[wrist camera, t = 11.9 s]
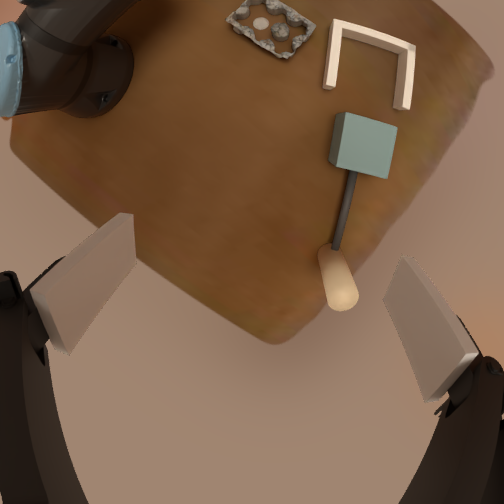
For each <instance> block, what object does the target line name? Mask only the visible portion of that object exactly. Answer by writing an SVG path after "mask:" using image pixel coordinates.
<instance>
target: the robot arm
mask: <svg viewBox="0 0 504 504" xmlns="http://www.w3.org/2000/svg"><path fill="white" fill-rule="evenodd" d="M138 1H139V0H17V2H19V3H22V4H24V5H27V7H26V8H25V10H24V11H23V12H22V14H21V15H20V17H19V18H18V19H17V21H16V22H12V21H11V22H8V23H4V24H2V25H0V117H2V116H6V117H11V116H15V115H20V114H26V113H33V112H39V111H47V110H56V109H59V110H61V111H63V112H65V113H68V114H70V115H72V116H74V117H79V118H90V117H97V116H100V115H102V114H104V113H106V112H107V111H109V110H110V109H112V108H113V107H114V106H115V105H116V104H117V103H118V102H119V100H120V99H121V98H122V96H123V95H124V93H125V92H126V90H127V88H128V86H129V83H130V81H131V77H132V73H133V65H134V61H133V54H132V51H131V49H130V47H129V45H128V44H127V43H126V42H125V41H124V40H123V39H121V38H119V37H117V36H114V35H111V34H103V33H104V32H105V31H106V30H107V29H108V28H109V27H110V26H111V25H112V24H113V23H114V22H115V21H116V20H117V19H118V18H119V17H120V16H121V15H123V14H124V13H125V12H126V11H127V10H128V9H129V8H130V7H132V6H133V5H134V4H135V3H136V2H138ZM136 264H137V261H136V250H135V237H134V221H133V214H128V213H119V214H117V215H116V216H115V217H113V218H112V219H111V220H109V221H108V222H107V223H106V224H104V225H103V226H102V227H100V228H99V229H98V230H97V231H96V232H94V233H93V234H92V235H90V236H89V237H88V238H87V239H85V240H84V241H83V242H82V243H81V244H79V245H78V246H77V247H76V248H75V249H73V250H72V251H71V252H70V253H69V254H68V255H67V256H64V257H62V258H60V259H58V260H56V261H55V262H54V263H53V264H51V265H50V266H49V267H48V269H46V270H45V271H44V272H43V273H42V274H40V275H39V276H38V277H37V278H36V279H35V280H34V281H33V282H32V283H31V284H30V285H29V286H28V287H27V288H26V289H25V290H24V291H23V292H22V289H21V286H20V284H19V281H18V278H17V275H16V273H15V272H13V271H4V272H1V273H0V492H1V496H2V501H3V504H89V503H88V501H87V499H86V497H85V495H84V492H83V490H82V488H81V485H80V483H79V480H78V478H77V475H76V472H75V470H74V467H73V464H72V461H71V458H70V456H69V452H68V449H67V446H66V443H65V439H64V436H63V432H62V428H61V424H60V421H59V417H58V412H57V407H56V403H55V397H54V393H53V387H52V380H51V374H50V367H49V359H48V350H47V348H46V345H45V343H46V342H47V341H48V339H50V341H51V343H52V345H53V347H54V349H55V350H58V351H60V352H62V353H64V354H67V355H70V354H71V352H72V350H73V349H74V348H75V346H76V345H77V343H78V342H79V340H80V339H81V337H82V336H83V334H84V333H85V332H86V330H87V329H88V327H89V326H90V324H91V323H92V322H93V320H94V319H95V317H96V316H97V315H98V313H99V312H100V310H101V309H102V308H103V306H104V305H105V304H106V302H107V301H108V300H109V298H110V297H111V296H112V294H113V293H114V292H115V290H116V289H117V288H118V287H119V285H120V284H121V283H122V281H123V280H124V279H125V278H126V276H127V275H128V274H129V273H130V271H131V270H132V269H133V267H134V266H135V265H136ZM383 301H384V303H385V305H386V308H387V310H388V312H389V314H390V316H391V319H392V321H393V323H394V325H395V327H396V330H397V332H398V334H399V337H400V339H401V341H402V344H403V346H404V348H405V351H406V353H407V356H408V358H409V361H410V364H411V366H412V369H413V371H414V374H415V377H416V379H417V382H418V385H419V388H420V391H421V393H422V396H423V399H424V402H425V403H426V402H433V401H438V400H439V399H440V398H441V397H442V396H443V395H444V394H445V393H446V392H447V391H448V394H449V396H450V397H449V398H448V399H447V400H446V401H445V402H444V403H443V404H442V406H440V407H439V408H438V409H437V410H436V412H435V413H434V414H435V415H436V414H438V413H439V412H440V411H442V412H441V415H440V416H439V417H440V418H439V421H438V424H437V426H436V429H435V431H434V434H433V437H432V439H431V441H430V444H429V446H428V448H427V451H426V453H425V455H424V457H423V459H422V461H421V464H420V466H419V468H418V470H417V472H416V474H415V475H414V477H413V479H412V481H411V483H410V485H409V487H408V489H407V490H406V492H405V494H404V495H403V497H402V499H401V500H400V502H399V504H504V419H503V420H502V414H503V413H504V371H503V368H502V367H501V365H500V364H499V362H498V361H497V360H495V359H494V358H492V357H490V356H485V357H483V355H482V353H481V351H480V350H479V348H478V346H477V345H476V343H475V341H474V340H473V338H472V336H471V335H469V332H468V330H467V328H465V325H464V324H463V322H462V321H461V319H460V318H459V317H458V316H457V315H456V314H455V313H454V311H453V310H452V308H451V307H450V305H449V304H448V303H447V301H446V300H445V298H444V297H443V296H442V294H441V293H440V291H439V290H438V289H437V287H436V286H435V285H434V283H433V282H432V280H431V279H430V278H429V276H428V275H427V274H426V272H425V271H424V270H423V269H422V267H421V266H420V265H419V263H418V262H417V261H416V260H415V258H414V257H410V256H405V255H401V258H400V260H399V263H398V265H397V268H396V270H395V273H394V275H393V278H392V280H391V282H390V285H389V287H388V289H387V292H386V294H385V296H384V298H383Z"/></svg>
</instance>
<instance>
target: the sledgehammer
mask: <svg viewBox="0 0 504 504" xmlns="http://www.w3.org/2000/svg"><path fill="white" fill-rule="evenodd" d="M397 128H398V127H395V126H392V125H389V124H386V123H382V122H379V121H376V120H373V119H369V118H366V117H362V116H359V115H355V114H351V113H347V112H344V113H339V114H336V118H335V124H334V130H333V136H332V142H331V148H330V153H329V158H328V161H329V162H331V163H332V164H333V165H335V166H336V167H340V168H344V169H349V170H350V171H349V176H348V180H347V185H346V189H345V194H344V198H343V202H342V207H341V211H340V215H339V219H338V223H337V227H336V231H335V235H334V238H333V242H332V243H328V244H325V245H323V246H322V247H321V248H320V249H319V250H318V254H317V257H318V261H319V265H320V270H321V274H322V278H323V283H324V287H325V292H326V296H327V301H328V304H329V306H330V307H331V308H332V309H334V310H337V311H345V310H348V309H350V308H352V307H353V306H354V305H355V304H356V303H357V301H358V298H359V293H358V291H357V288H356V286H355V283H354V280H353V278H352V275H351V273H350V270H349V268H348V266H347V263H346V261H345V258H344V256H343V254H342V251H341V249H340V243H341V239H342V236H343V232H344V228H345V224H346V221H347V217H348V213H349V209H350V205H351V201H352V196H353V192H354V188H355V183H356V179H357V174H358V172H361V173H365V174H369V175H373V176H377V177H381V178H384V179H387V177H388V173H389V168H390V164H391V159H392V154H393V149H394V144H395V139H396V133H397Z"/></svg>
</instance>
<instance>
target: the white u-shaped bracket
mask: <svg viewBox="0 0 504 504" xmlns="http://www.w3.org/2000/svg"><path fill="white" fill-rule="evenodd" d="M341 36H343V37H346V38H350V39H354V40H357V41H361V42H364V43H367V44H370V45H374V46H377V47H380V48H383V49H385V50H388V51H391V52H394V53H396V54H399V55H398V68H397V78H396V87H395V95H394V102H393V108H395V109H398V110H410V104H411V96H412V87H413V77H414V65H415V49H416V46H414V45H412V44H410V43H407V42H405V41H403V40H400V39H398V38H395V37H392V36H390V35H387V34H384V33H381V32H378V31H375V30H372V29H369V28H366V27H363V26H359V25H356V24H352V23H349V22H345V21H341V20H337V19H334V20H333V22H332V24H331V26H330V30H329V39H328V48H327V56H326V64H325V71H324V79H323V86H322V88H323V89H328V90H331V89H333V88H334V87H335V86H336V78H337V71H338V63H339V54H340V45H341Z"/></svg>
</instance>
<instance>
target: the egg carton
mask: <svg viewBox="0 0 504 504" xmlns="http://www.w3.org/2000/svg"><path fill="white" fill-rule="evenodd" d="M261 3H265V4H266V7H267V11H268V13H270V14H272V15H279V14H281V13H283V14H285V15H286V16H287V17H286V21H287V23H288V24H289V25H290V26H293V27H297V26H300V25H303V26H305V27H306V28H307V29H306V35H300V36H296V37H294V38H293V43H292V49H293V51H294V52H293V53H288V52H282V53H281V54H277V53H276V52H274V48H275V47H274V44H273V42H272V41H271V40H270V39H267V40H261V41H259V42H258V41H257V40H255V34H254V32H253V30H252V29H250V28H249V26H242V25H241V24H239V23H238V22H236V21H235V20H236V19H246V18H248V17H249V15H250V10H249V6H250V5H259V4H261ZM225 20H226V21H227V22H228V23H231V24H232V25H234V27H233V30H234V31H235V32H236V33H238V34H240V35H241V34H244V35H246V36H248V37H249V38H251V39H252V40H253V41H254V43H256V44H258V45H260V46H261V47H263V48H265V49H267V50H269V51H271V52H272V53H273V54H274V55H275V56H276V57H278V58H280V57H281V58H282V57H284V58H286V59H288V57H292V56H293V55H294V54H295V50H296V48H297V47H299V46H300V45H301V44H302V42H306V41H307V40H308V39H309V37H310V35H311V33H312V32H313V30H314V29H315V27H316V25H315V24H314V23H312V22H311V21H309V20H308V19H306V18H304V17H303V16H301V14H298V13H297V12H296V11H295V10H294V9H292V8H290V7H288V6H287V5H285V4H284V3H282V2H280V1H278V0H246V1H245V2H244V3H242V5H241V6H240V8H239V9H237V10H236V12H235V11H234V12H233V13H231V14H230V15H229V17H227V18H226V19H225ZM253 25H254V27H255V28H256V29H259V30H263V29H266V28H267V27H268V26H269V22H268V20H267V19H266V18H263V17H260V18H256V19H255V20H254V21H253ZM271 31H272V36H273V38H274V39H275V40H277V41H285V40H287V39H288V36H289V28H288V26H287V25H286V24H285V23H276V24H274V25H273V26H272V27H271Z"/></svg>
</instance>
